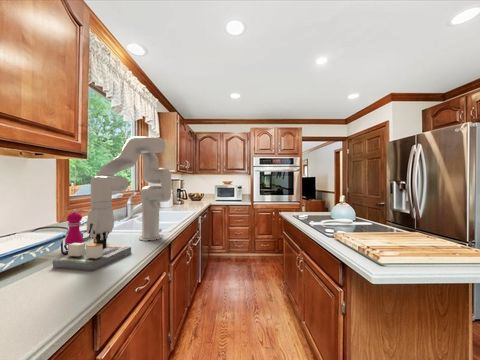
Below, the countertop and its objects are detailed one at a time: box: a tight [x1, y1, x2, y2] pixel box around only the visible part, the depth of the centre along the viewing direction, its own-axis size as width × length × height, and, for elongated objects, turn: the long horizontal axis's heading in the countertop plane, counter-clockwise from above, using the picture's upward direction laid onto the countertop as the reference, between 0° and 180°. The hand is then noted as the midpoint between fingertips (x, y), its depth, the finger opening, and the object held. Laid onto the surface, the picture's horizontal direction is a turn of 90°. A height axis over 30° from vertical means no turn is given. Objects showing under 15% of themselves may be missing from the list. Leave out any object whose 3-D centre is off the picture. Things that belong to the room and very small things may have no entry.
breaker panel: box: [52, 244, 132, 273], centre depth 96 cm, size 22×18×3 cm
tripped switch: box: [85, 243, 103, 258], centre depth 90 cm, size 3×5×5 cm, turn 80°
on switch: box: [67, 242, 86, 256], centre depth 92 cm, size 3×5×4 cm, turn 80°
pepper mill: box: [64, 209, 84, 245], centre depth 110 cm, size 7×7×20 cm
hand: (101, 248), depth 93 cm, fingers closed
